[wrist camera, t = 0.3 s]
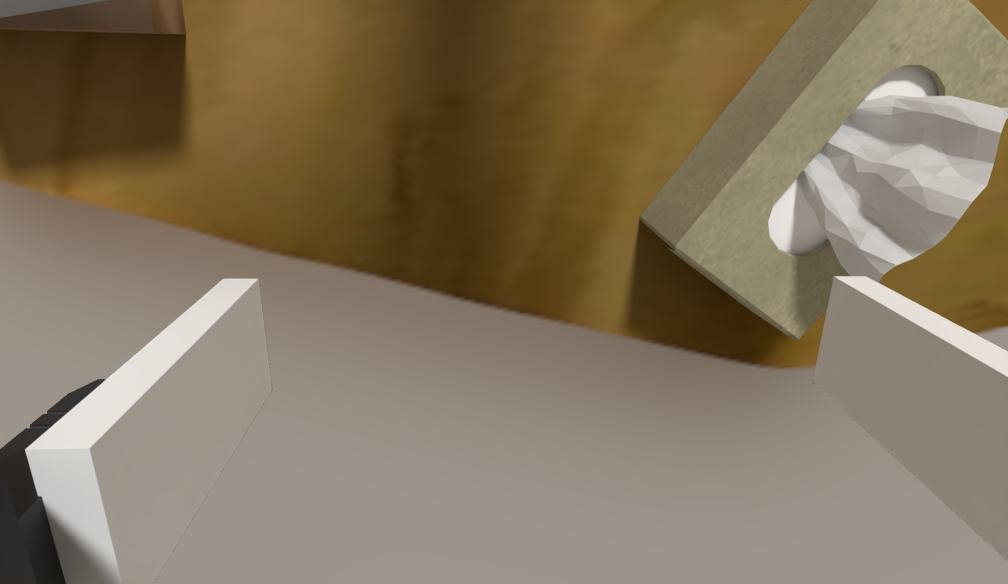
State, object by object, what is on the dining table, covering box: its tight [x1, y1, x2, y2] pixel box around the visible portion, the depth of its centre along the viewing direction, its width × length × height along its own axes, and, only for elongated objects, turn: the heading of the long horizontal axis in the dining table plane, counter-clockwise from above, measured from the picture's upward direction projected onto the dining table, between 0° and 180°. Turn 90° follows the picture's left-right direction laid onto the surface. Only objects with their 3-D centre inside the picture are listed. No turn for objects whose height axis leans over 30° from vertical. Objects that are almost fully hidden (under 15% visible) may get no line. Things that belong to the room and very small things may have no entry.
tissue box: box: [640, 0, 1008, 340], centre depth 34 cm, size 19×10×16 cm, turn 144°
